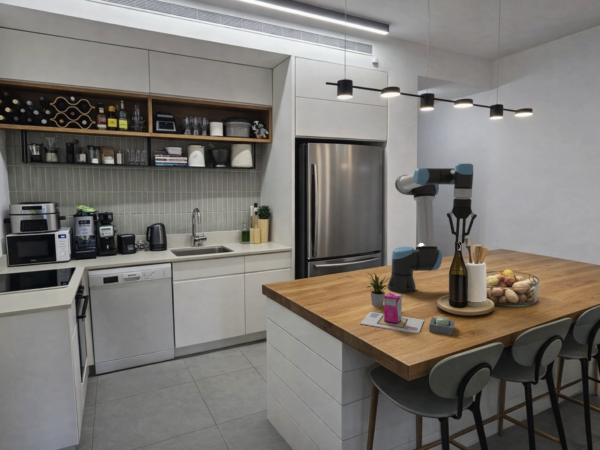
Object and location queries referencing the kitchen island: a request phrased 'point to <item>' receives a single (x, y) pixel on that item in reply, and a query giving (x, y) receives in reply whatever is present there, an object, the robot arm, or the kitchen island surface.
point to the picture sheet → (404, 325)
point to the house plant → (377, 291)
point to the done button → (442, 321)
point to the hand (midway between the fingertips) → (459, 250)
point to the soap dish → (441, 327)
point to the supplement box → (392, 308)
